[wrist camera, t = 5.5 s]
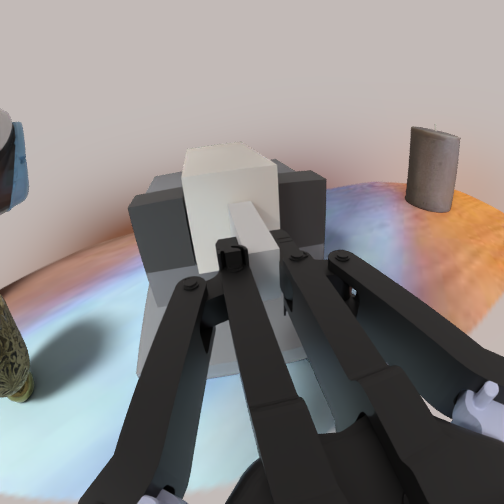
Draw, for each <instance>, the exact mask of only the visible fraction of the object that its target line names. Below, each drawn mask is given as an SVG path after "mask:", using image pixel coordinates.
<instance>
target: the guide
mask: <svg viewBox="0 0 504 504" xmlns="http://www.w3.org/2000/svg"><path fill="white" fill-rule="evenodd" d="M271 161H272V162H274V163H275V164H277V172H278V192H279V215H280V229H282V230H284V231H286V232H287V233H288V234H289V236H290V238H292V240H293V241H294V242H295V244H296V245H297V247H298V248H299V249H300V250H302V251H305V252H308V253H309V254H310V255H311V256H312V257H313V259H316V260H323V258H324V240H325V217H326V179H325V178H323V177H322V176H320V175H318V174H317V173H315V172H313V171H311V170H310V171H298V172H296V171H294V170H292V169H291V168H289V167H288V166H286V165H284V164H283V163H281V162H279V161H278V160H276V159H273V160H271ZM181 176H182V172H177V173H172V174H166V175H161V176H156V177H155V178H154V180H153V181H152V183H151V185H150V186H149V188H148V190H147V192H146V194H141V195H136V196H135V197H134V199H133V200H132V202H131V204H130V205H129V207H128V211H129V215H130V219H131V223H132V227H133V230H134V234H135V238H136V241H137V245H138V248H139V252H140V255H141V258H142V262H143V265H144V268H145V271H146V275H147V278H148V281H149V288H148V293H147V299H146V305H145V311H144V317H143V324H142V331H141V338H140V345H139V353H138V362H137V372H136V374H137V376H138V378H139V377H140V374H141V372H142V369H143V366H144V364H145V361H146V358H147V356H148V353H149V350H150V348H151V345H152V343H153V340H154V337H155V335H156V332H157V330H158V327H159V325H160V322H161V320H162V317H163V315H164V313H165V310H166V308H167V305H168V303H169V301H170V298H171V296H172V293H173V291H174V289H175V286H176V285H177V283H178V282H179V281H181V280H182V279H184V278H187V277H191V276H199V277H201V278H204V280H205V281H207V280H210V279H212V278H213V277H215V276H216V275H217V274H218V272H219V271H215V272H209V273H203V274H199V271H198V266H197V261H196V256H195V251H194V246H193V241H192V236H191V231H190V226H189V220H188V215H187V209H186V204H185V198H184V192H183V186H182V180H181ZM263 304H264V307H265V309H266V312H267V315H268V318H269V320H270V323H271V326H272V328H273V331H274V334H275V336H276V339H277V342H278V345H279V347H280V350H281V353H282V355H283V358H284V361H285V363H286V364H287V363H291V362H295V361H299V360H303V359H307V358H308V357H307V355H306V353H305V351H304V348H303V346H302V344H301V342H300V339H299V337H298V335H297V333H296V330H295V328H294V326H293V324H292V321H291V319H290V317H289V315H288V312H286V316H284V306H283V293H282V291H281V298H277V299H272V300H267V301H263ZM234 374H240V372H239V368H238V363H237V359H236V354H235V349H234V344H233V340H232V335H231V330H230V325H229V320H227V321H225V322H223V323H220V324H218V325H216V332H215V337H214V342H213V347H212V353H211V358H210V363H209V369H208V374H207V379H210V378H217V377H223V376H229V375H234Z"/></svg>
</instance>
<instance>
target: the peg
mask: <svg viewBox="0 0 504 504" xmlns="http://www.w3.org/2000/svg"><path fill="white" fill-rule="evenodd" d="M181 180H182V186H183V192H184V198H185V204H186V209H187V215H188V220H189V226H190V231H191V236H192V241H193V246H194V251H195V256H196V261H197V266H198V271H199V274H203V273H209V272H215V271H219V265H218V259H217V253H216V247H215V244H216V242H217V241H218V239H224V238H231V230H230V222H229V213H228V205H227V204H232V203H239V202H246V201H251V202H252V204H253V205H254V207H255V209H256V210H257V212H258V214H259V215H260V217H261V218H262V220H263V222H264V223H265V225H266V227H267V228H268V230H269V231H271V230H278V229H280V215H279V192H278V172H277V164H275V163H274V162H272V161H271V160H269V159H268V158H266V157H264V156H263V155H261V154H260V153H258V152H257V151H255V150H254V149H252V148H250V147H249V146H247V145H246V144H244V143H242V142H234V143H226V144H218V145H211V146H204V147H198V148H191V149H187V151H186V157H185V162H184V166H183V171H182V176H181Z"/></svg>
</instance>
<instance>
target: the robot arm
mask: <svg viewBox="0 0 504 504" xmlns="http://www.w3.org/2000/svg"><path fill="white" fill-rule="evenodd" d="M25 158H26V154H25V142H24V133H23V127H22V124H21V122H12V121H11V118H10V116H9V114H8V113H7V112H6V111H4V110H2V109H0V215H1V214H3V213H5V212H8V211H10V210H11V208H13V207H14V206H16V205H18V204H20V203H21V202H23V201H24V200H25V199H26V197H27V195H28V192H29V181H28V171H27V162H26V159H25ZM227 205H228V213H229V222H230V230H231V238H224V239H218V241H217V242H216V244H215V247H216V253H217V259H218V265H219V272H218V274H217V275H216V276H215V277H213V278H212V279H210V280H207V281H205V280H204V278H201V277H199V276H191V277H187V278H184V279H182V280H181V281H179V282H178V283H177V285H176V286H175V289H174V291H173V293H172V296H171V298H170V301H169V303H168V305H167V308H166V310H165V313H164V315H163V317H162V320H161V322H160V325H159V327H158V330H157V332H156V335H155V337H154V340H153V343H152V345H151V348H150V350H149V353H148V356H147V358H146V361H145V364H144V366H143V369H142V372H141V374H140V377H139V380H138V383H137V385H136V388H135V391H134V394H133V397H132V400H131V403H130V405H129V408H128V411H127V414H126V417H125V420H124V423H123V427H122V430H121V433H120V436H119V439H118V442H117V446H116V449H115V452H114V455H113V457H112V458H111V459H110V460H109V462H108V463H107V464H106V466H105V467H104V468H103V470H102V471H101V472H100V474H99V475H98V476H97V478H96V479H95V480H94V481H93V483H92V484H91V485H90V487H89V488H88V489H87V491H86V492H85V493H84V494H83V496H82V497H81V498H80V500H79V502H78V504H187V502H185V501H184V500H182V499H183V497H184V494H185V491H186V489H187V486H188V482H189V477H190V473H191V467H192V460H193V454H194V448H195V442H196V436H197V430H198V425H199V419H200V413H201V407H202V402H203V396H204V391H205V385H206V380H207V374H208V369H209V363H210V358H211V353H212V347H213V342H214V337H215V332H216V325H218V324H220V323H223V322H225V321H227V320H229V325H230V330H231V335H232V340H233V344H234V349H235V354H236V359H237V363H238V368H239V372H240V377H241V382H242V386H243V390H244V395H245V399H246V403H247V408H248V412H249V416H250V420H251V424H252V429H253V433H254V437H255V441H256V445H257V449H258V453H259V457H260V458H259V459H257V460H256V461H255V462H253V463H252V464H251V465H250V466H249V467H248V468H247V470H246V471H245V472H244V473H243V475H242V476H241V478H240V480H239V481H238V483H237V485H236V486H235V488H234V490H233V491H232V493H231V495H230V496H229V498H228V499H227V501H226V503H225V504H504V357H503V356H500V355H498V354H496V353H494V352H491V351H489V350H487V349H484V348H483V347H481V346H480V345H479V344H478V343H476V342H475V341H474V340H473V339H471V338H470V337H469V336H468V335H466V334H465V333H464V332H463V331H461V330H460V329H459V328H457V327H456V326H455V325H453V324H452V323H451V322H450V321H448V320H447V319H446V318H444V317H443V316H442V315H440V314H439V313H438V312H436V311H435V310H434V309H432V308H431V307H429V306H428V305H427V304H425V303H424V302H423V301H421V300H420V299H418V298H417V297H416V296H414V295H413V294H412V293H410V292H409V291H407V290H406V289H404V288H403V287H402V286H400V285H399V284H397V283H396V282H394V281H393V280H392V279H390V278H389V277H387V276H386V275H384V274H383V273H381V272H380V271H378V270H377V269H375V268H374V267H373V266H371V265H370V264H368V263H367V262H365V261H364V260H362V259H361V258H359V257H358V256H356V255H354V254H353V253H351V252H349V251H345V250H337V251H333V252H331V253H330V254H329V255H328V260H316V259H313V257H312V256H311V255H310V254H309V253H308V252H305V251H302V250H300V249H299V248H298V247H297V245H296V244H295V242H294V241H293V240H292V238H290V236H289V234H288V233H287V232H286V231H284V230H282V229H278V230H271V231H269V230H268V228H267V227H266V225H265V223H264V222H263V220H262V218H261V217H260V215H259V214H258V212H257V210H256V209H255V207H254V205H253V204H252V202H251V201H246V202H239V203H232V204H227ZM352 288H353V289H355V290H356V291H357V292H356V295H354V294H352V293H351V292H352ZM281 291H282V293H283V306H284V316H286V312H288V315H289V317H290V319H291V321H292V324H293V326H294V328H295V330H296V333H297V335H298V337H299V339H300V342H301V344H302V346H303V348H304V351H305V353H306V355H307V357H308V360H309V362H310V364H311V366H312V369H313V371H314V373H315V375H316V378H317V380H318V382H319V385H320V387H321V389H322V391H323V394H324V396H325V398H326V401H327V403H328V405H329V407H330V410H331V412H332V414H333V417H334V420H335V428H336V433H326V434H318V433H317V431H316V428H315V426H314V423H313V421H312V418H311V415H310V413H309V410H308V408H307V405H306V403H305V401H304V400H303V398H301V397H299V396H298V395H297V393H296V390H295V387H294V385H293V382H292V379H291V377H290V374H289V371H288V369H287V366H286V363H285V361H284V358H283V355H282V353H281V350H280V347H279V345H278V342H277V339H276V336H275V334H274V331H273V328H272V326H271V323H270V320H269V318H268V315H267V312H266V309H265V307H264V304H263V301H267V300H272V299H277V298H281ZM387 364H388V365H387ZM420 395H421V396H422V397H423V398H424V399H425V400H426V401H427V402H428V403H429V404H430V405H431V406H433V407H434V408H435V409H436V410H438V411H439V412H441V413H442V414H444V415H445V416H447V417H449V418H451V419H453V420H452V422H451V423H450V422H448V421H445V420H443V419H440V418H438V417H435V416H433V415H432V414H431V412H430V410H429V409H428V407H427V405H426V404H425V402H424V401H423V399H422V397H421V396H420Z"/></svg>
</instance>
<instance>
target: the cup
mask: <svg viewBox="0 0 504 504" xmlns="http://www.w3.org/2000/svg"><path fill="white" fill-rule="evenodd" d="M29 368H30V360H29V354H28V350H27V347H26V345H25V342H24V340H23V338H22V336H21V334H20V332H19V330H18V328H17V326H16V324H15V321H14V319H13V317H12V315H11V313H10V311H9V309H8V306H7V304H6V302H5V300H4V298H3V297H2V295H1V294H0V397H7V398H8V399H9V400H11V401H13V402H17V403H21V402H24V401H26V400H27V399H28V398H29V397H30V396H31V394H32V392H33V390H34V379H33V376H32V374H31V372H30V371H29Z"/></svg>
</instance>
